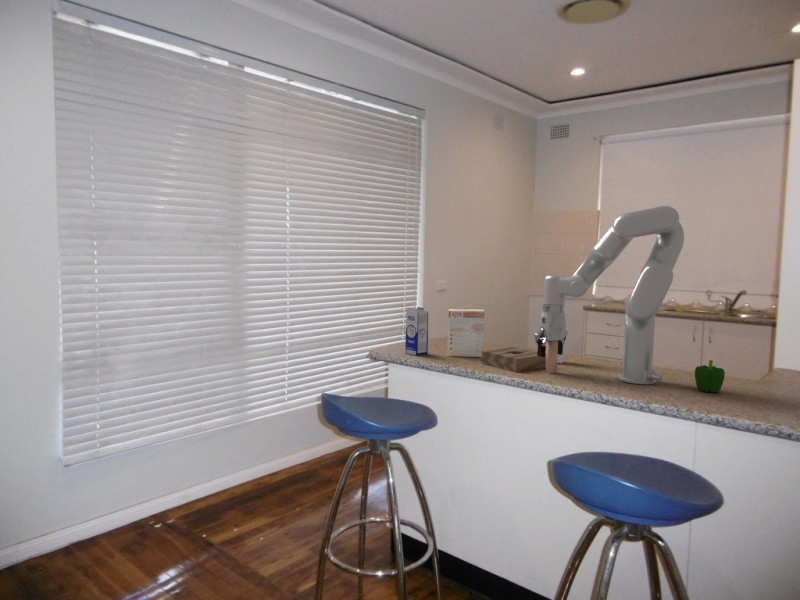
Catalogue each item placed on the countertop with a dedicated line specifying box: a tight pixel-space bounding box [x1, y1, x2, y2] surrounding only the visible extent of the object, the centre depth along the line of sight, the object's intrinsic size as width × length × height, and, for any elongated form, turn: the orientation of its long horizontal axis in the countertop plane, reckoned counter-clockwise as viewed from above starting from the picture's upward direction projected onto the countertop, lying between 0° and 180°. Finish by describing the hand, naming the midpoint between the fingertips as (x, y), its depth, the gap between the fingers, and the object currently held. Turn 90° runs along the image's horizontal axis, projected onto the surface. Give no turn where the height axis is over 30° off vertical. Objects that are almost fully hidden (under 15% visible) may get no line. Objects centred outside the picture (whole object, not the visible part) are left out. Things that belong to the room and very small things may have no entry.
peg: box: [544, 340, 558, 374], centre depth 198 cm, size 4×4×12 cm
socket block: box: [480, 346, 546, 373], centre depth 210 cm, size 18×18×5 cm
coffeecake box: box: [447, 308, 485, 358], centre depth 228 cm, size 15×7×20 cm, turn 84°
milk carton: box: [404, 306, 430, 357], centre depth 229 cm, size 7×7×20 cm
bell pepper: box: [694, 359, 726, 393], centre depth 175 cm, size 8×8×10 cm
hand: (549, 355), depth 198 cm, fingers open, 9 cm apart
